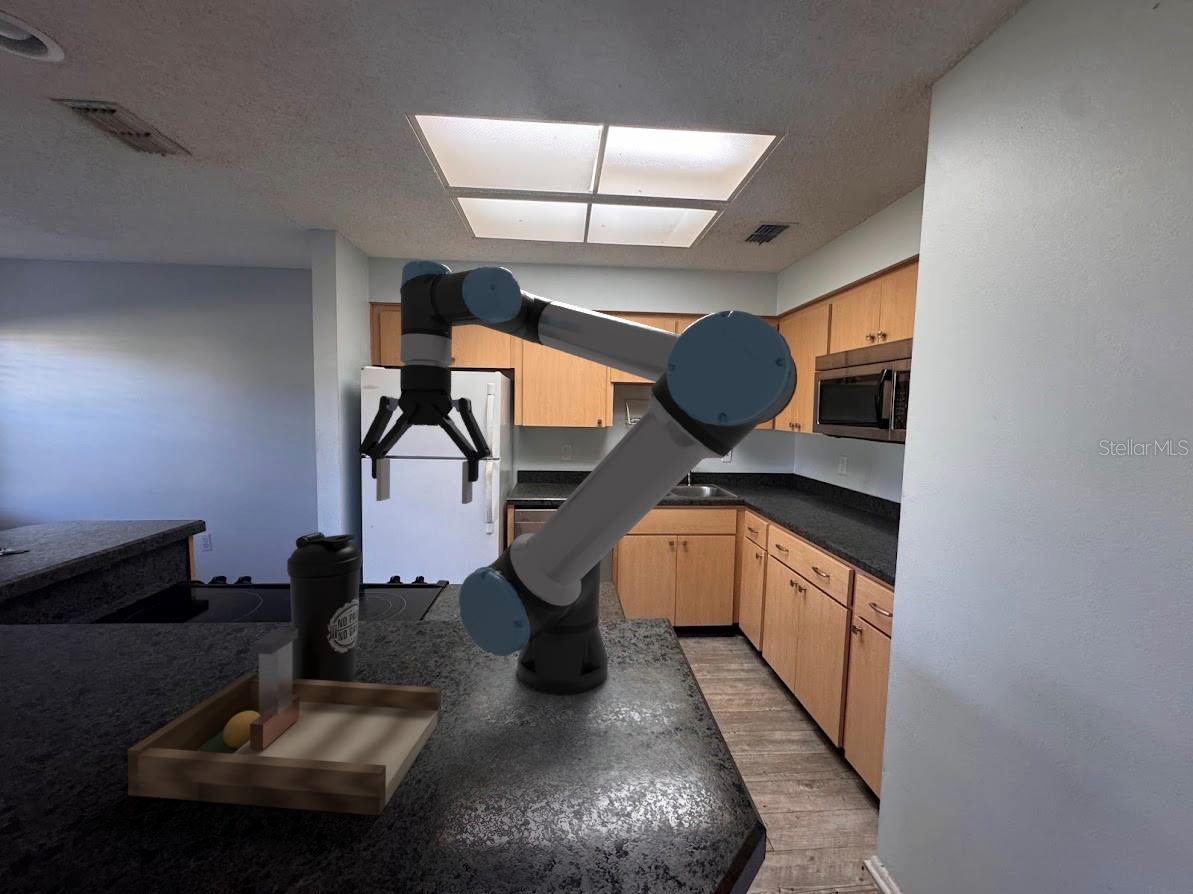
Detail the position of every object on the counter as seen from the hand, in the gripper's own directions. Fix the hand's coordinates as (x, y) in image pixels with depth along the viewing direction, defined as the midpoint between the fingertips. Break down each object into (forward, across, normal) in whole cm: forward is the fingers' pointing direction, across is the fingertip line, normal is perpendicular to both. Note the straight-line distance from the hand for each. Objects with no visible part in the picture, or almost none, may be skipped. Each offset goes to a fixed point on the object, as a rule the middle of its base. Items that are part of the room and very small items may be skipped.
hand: (424, 501), depth 73 cm
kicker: (+26, +11, +18) cm, 33 cm away
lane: (+29, +7, +18) cm, 35 cm away
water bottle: (+29, +15, +2) cm, 33 cm away
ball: (+26, +15, +18) cm, 35 cm away
